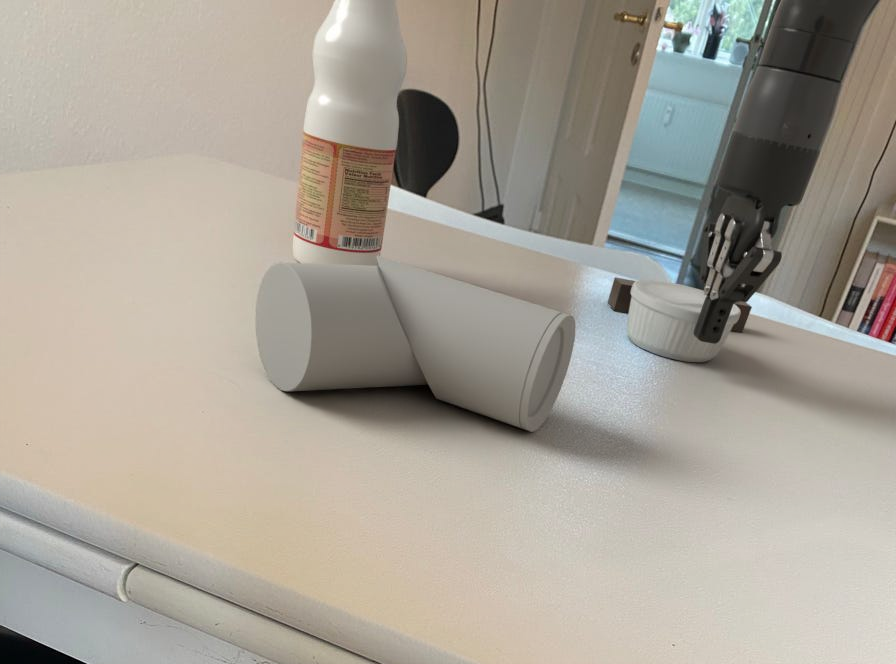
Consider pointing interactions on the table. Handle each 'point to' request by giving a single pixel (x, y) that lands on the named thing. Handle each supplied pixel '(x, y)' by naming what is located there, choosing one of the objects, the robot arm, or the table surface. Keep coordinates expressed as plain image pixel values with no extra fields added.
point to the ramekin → (671, 321)
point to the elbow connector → (412, 337)
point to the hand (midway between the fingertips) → (705, 339)
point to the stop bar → (622, 296)
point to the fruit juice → (350, 135)
